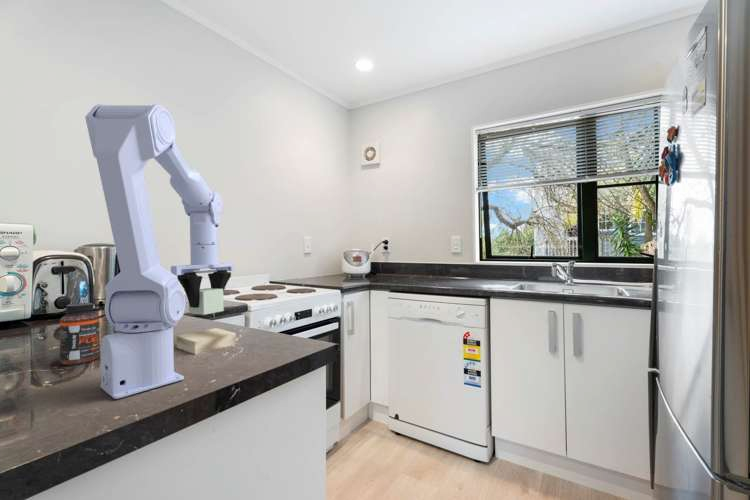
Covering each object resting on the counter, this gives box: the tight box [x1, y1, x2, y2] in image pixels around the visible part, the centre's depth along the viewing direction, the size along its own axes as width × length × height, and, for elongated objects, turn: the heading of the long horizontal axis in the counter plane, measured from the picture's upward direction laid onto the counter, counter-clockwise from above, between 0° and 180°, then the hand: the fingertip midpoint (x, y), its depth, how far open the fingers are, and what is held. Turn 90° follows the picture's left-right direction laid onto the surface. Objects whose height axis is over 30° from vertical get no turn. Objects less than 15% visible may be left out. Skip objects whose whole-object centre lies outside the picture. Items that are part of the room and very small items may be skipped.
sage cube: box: [188, 287, 225, 316], centre depth 77 cm, size 5×5×5 cm
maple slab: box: [176, 327, 237, 355], centre depth 77 cm, size 9×9×3 cm
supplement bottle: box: [59, 302, 101, 366], centre depth 68 cm, size 6×6×11 cm
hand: (205, 305), depth 77 cm, fingers closed on sage cube, 5 cm apart
